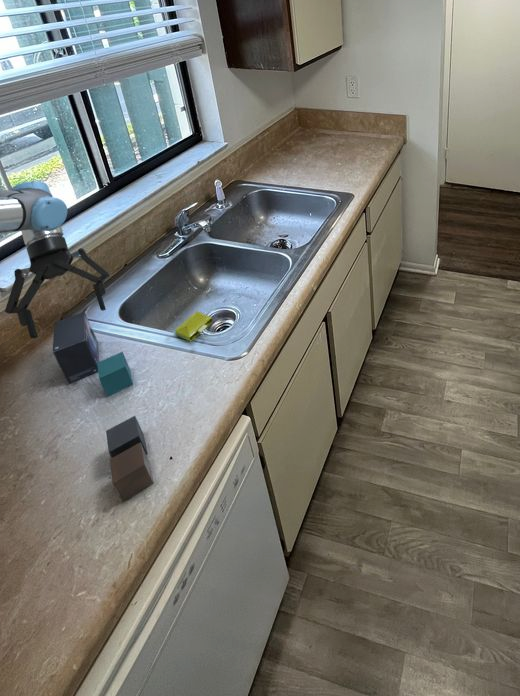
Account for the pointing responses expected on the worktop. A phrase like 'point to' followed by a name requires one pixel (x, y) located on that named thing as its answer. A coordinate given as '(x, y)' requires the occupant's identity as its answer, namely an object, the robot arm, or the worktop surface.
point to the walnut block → (131, 472)
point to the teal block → (114, 374)
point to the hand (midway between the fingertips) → (70, 323)
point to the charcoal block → (125, 437)
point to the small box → (75, 347)
